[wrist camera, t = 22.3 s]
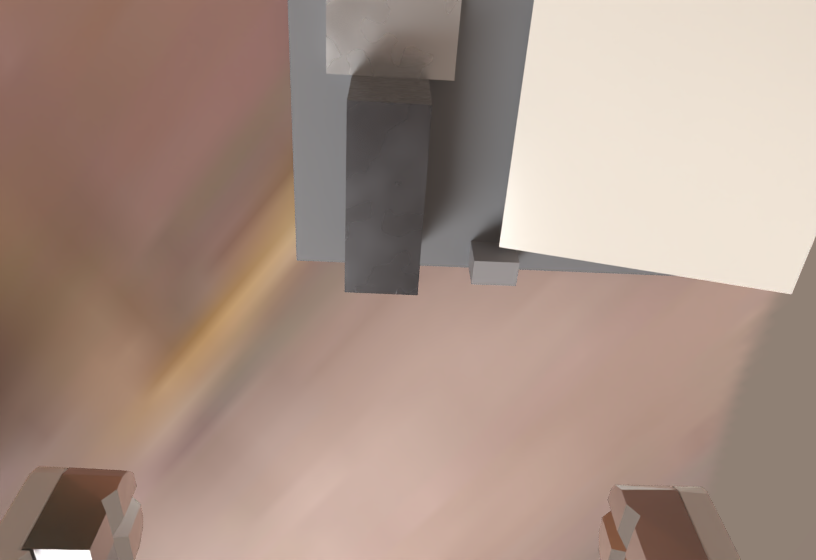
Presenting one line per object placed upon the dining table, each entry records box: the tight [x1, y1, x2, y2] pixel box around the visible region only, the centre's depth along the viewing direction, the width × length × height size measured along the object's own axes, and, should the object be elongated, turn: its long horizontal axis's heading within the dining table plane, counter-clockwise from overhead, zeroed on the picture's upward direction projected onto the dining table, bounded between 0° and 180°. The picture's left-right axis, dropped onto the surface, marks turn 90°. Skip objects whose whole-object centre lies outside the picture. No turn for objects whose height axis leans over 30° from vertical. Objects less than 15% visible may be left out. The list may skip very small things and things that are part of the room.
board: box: [288, 0, 675, 286], centre depth 28 cm, size 18×22×3 cm
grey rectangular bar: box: [326, 0, 462, 295], centre depth 26 cm, size 16×5×4 cm, turn 177°
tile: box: [499, 0, 816, 294], centre depth 26 cm, size 12×14×1 cm
